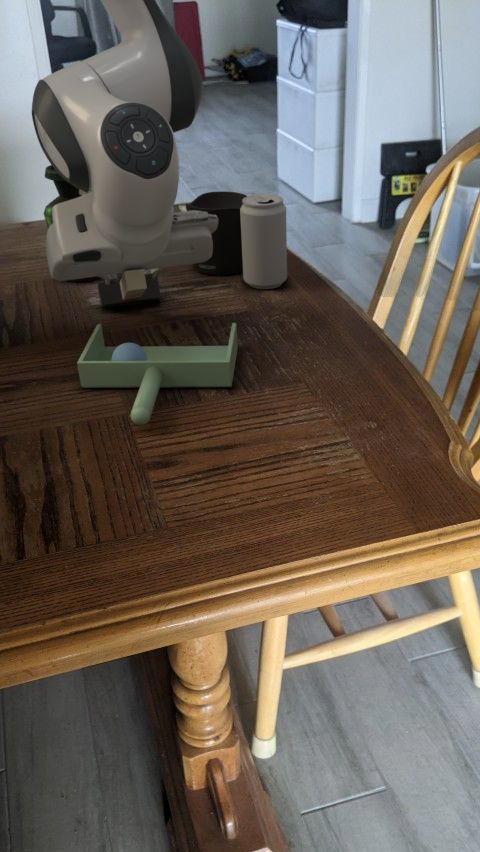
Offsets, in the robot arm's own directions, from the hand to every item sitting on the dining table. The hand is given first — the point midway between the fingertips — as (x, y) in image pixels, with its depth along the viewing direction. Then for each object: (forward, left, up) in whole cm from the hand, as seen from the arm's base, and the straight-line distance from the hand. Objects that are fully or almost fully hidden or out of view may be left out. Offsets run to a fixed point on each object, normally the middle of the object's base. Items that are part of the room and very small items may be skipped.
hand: (129, 276), depth 102 cm
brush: (-2, +5, -4) cm, 6 cm away
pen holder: (+10, +18, -6) cm, 22 cm away
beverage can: (+17, +11, -6) cm, 21 cm away
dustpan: (+6, -21, -5) cm, 22 cm away
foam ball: (+4, -18, -2) cm, 18 cm away
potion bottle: (-11, +15, -6) cm, 20 cm away
